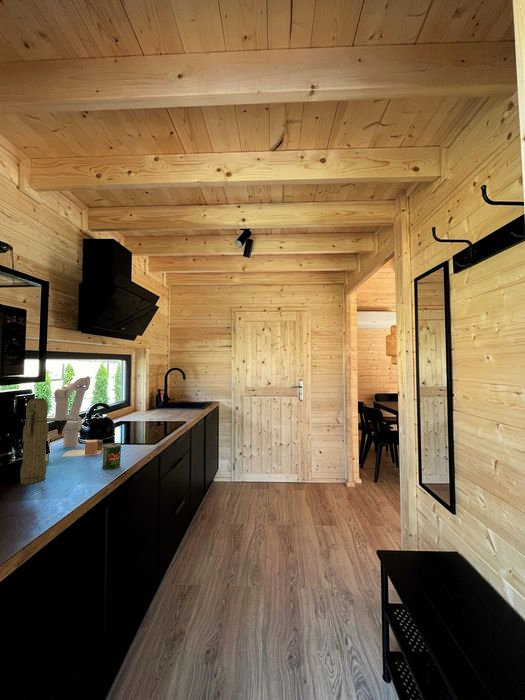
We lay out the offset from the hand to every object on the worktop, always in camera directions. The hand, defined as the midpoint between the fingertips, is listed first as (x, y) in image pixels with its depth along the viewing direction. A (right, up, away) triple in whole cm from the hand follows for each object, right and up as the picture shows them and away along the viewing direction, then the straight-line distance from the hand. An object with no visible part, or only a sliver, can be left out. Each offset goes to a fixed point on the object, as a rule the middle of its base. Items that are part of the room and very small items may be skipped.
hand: (59, 434), depth 174 cm
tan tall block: (+15, -9, -41) cm, 45 cm away
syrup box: (+3, -10, -21) cm, 23 cm away
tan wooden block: (+18, -10, 0) cm, 20 cm away
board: (+13, -11, 0) cm, 17 cm away
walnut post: (+19, -11, +7) cm, 22 cm away
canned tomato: (+39, -11, -22) cm, 46 cm away
